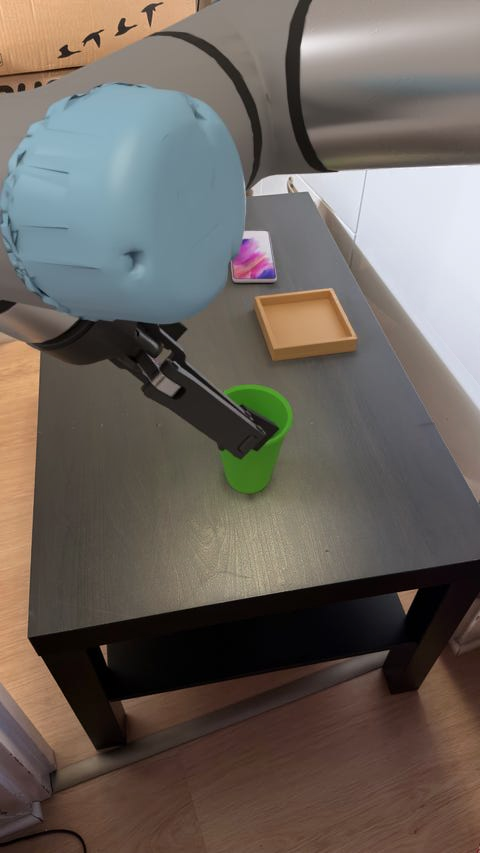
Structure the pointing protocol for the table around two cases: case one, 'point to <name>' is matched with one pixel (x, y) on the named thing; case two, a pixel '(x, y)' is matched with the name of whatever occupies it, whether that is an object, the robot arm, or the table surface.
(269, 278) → the smartphone
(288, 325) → the square wooden tray
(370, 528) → the table surface
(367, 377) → the table surface
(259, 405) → the cup
